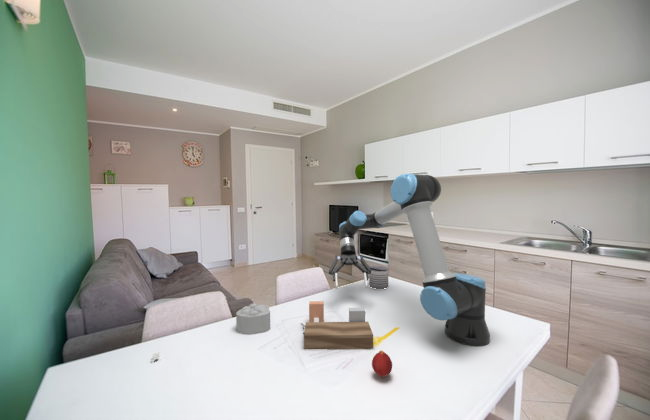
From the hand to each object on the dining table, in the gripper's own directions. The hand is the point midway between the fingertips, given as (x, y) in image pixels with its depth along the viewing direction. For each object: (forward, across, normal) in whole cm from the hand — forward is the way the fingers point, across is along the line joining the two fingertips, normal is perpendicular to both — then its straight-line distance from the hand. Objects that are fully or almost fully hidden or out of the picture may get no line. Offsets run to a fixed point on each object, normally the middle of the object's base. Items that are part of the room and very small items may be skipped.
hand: (351, 287), depth 122 cm
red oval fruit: (+40, -4, +22) cm, 46 cm away
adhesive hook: (+33, +68, +15) cm, 77 cm away
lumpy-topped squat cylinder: (+18, +42, +1) cm, 45 cm away
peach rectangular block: (+18, +16, +3) cm, 25 cm away
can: (-17, -20, -34) cm, 43 cm away
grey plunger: (+24, 0, +8) cm, 25 cm away
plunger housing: (+26, +8, +9) cm, 29 cm away
